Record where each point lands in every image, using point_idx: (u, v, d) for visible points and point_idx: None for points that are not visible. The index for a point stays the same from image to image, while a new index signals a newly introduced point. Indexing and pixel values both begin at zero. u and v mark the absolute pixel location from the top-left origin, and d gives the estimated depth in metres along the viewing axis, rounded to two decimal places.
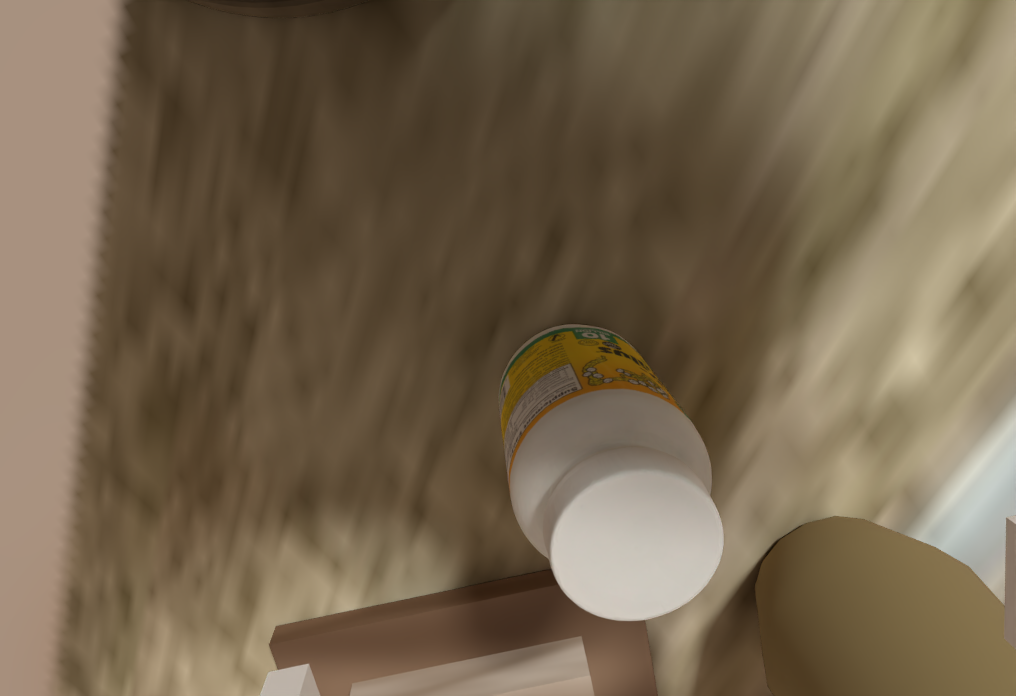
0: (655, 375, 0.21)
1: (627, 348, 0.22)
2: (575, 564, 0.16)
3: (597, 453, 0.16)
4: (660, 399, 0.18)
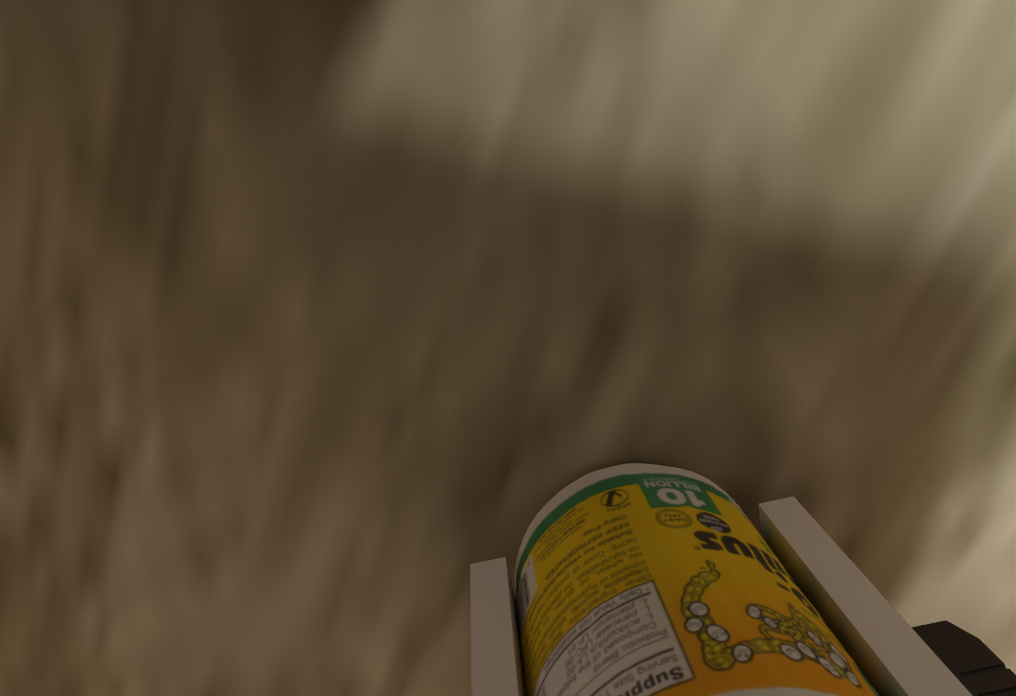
0: (789, 574, 0.12)
1: (735, 519, 0.13)
2: None
3: None
4: None
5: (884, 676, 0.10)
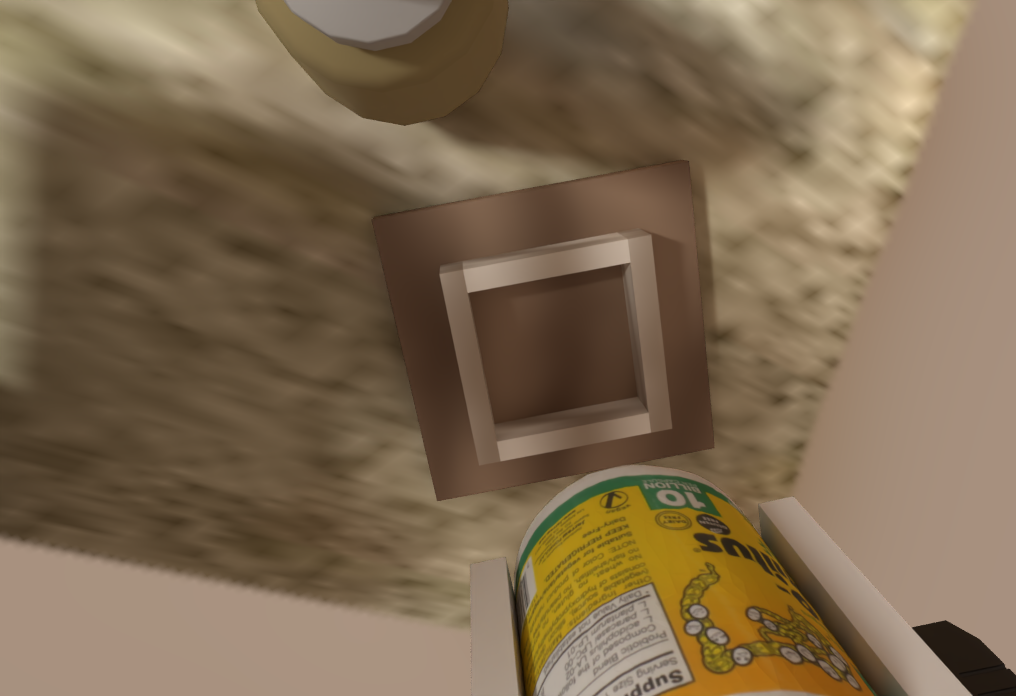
0: (789, 576, 0.12)
1: (735, 521, 0.13)
2: None
3: None
4: None
5: (884, 676, 0.10)
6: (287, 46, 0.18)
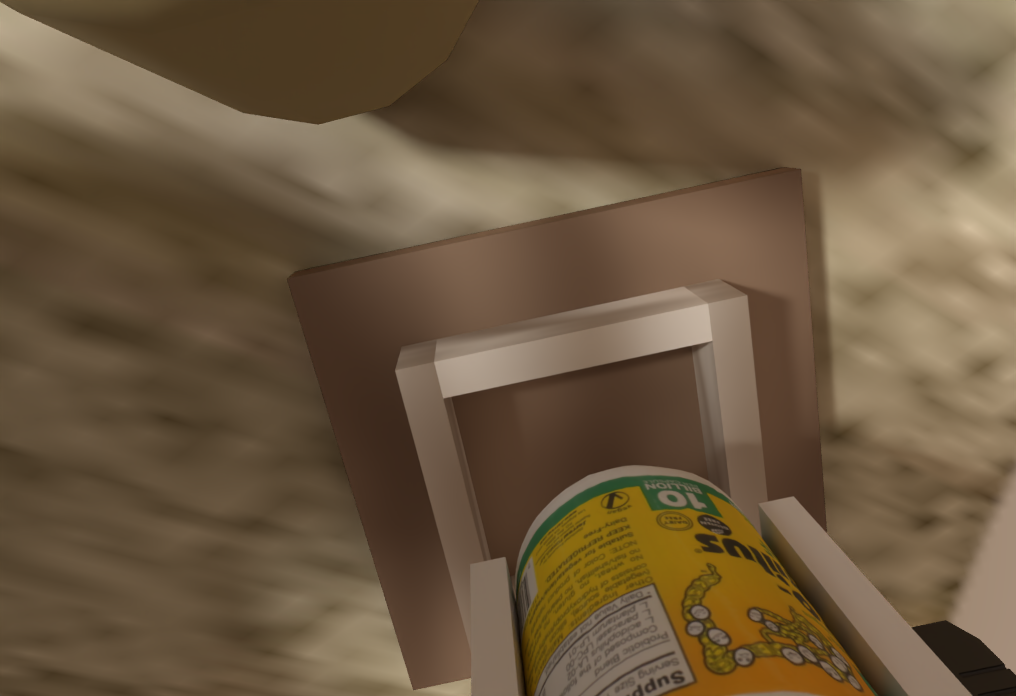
0: (790, 577, 0.12)
1: (736, 522, 0.13)
2: None
3: None
4: None
5: (884, 676, 0.10)
6: None
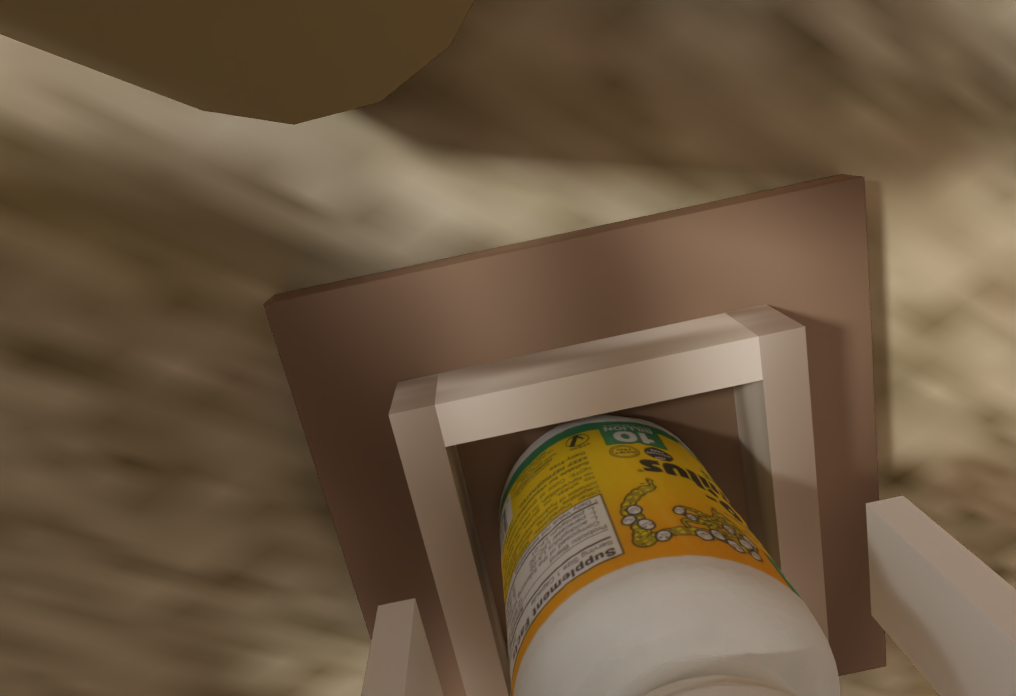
0: (725, 496, 0.15)
1: (680, 454, 0.15)
2: None
3: (659, 694, 0.09)
4: (752, 568, 0.11)
5: None
6: None
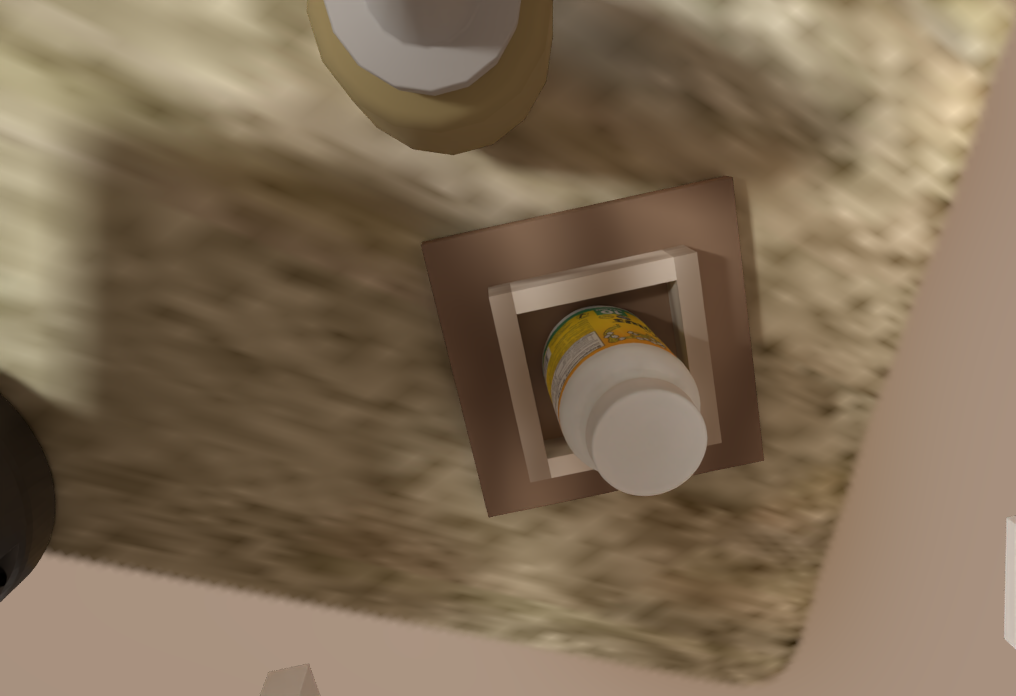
0: None
1: (635, 319, 0.30)
2: (609, 457, 0.24)
3: (618, 384, 0.24)
4: (659, 348, 0.26)
5: None
6: (349, 93, 0.19)
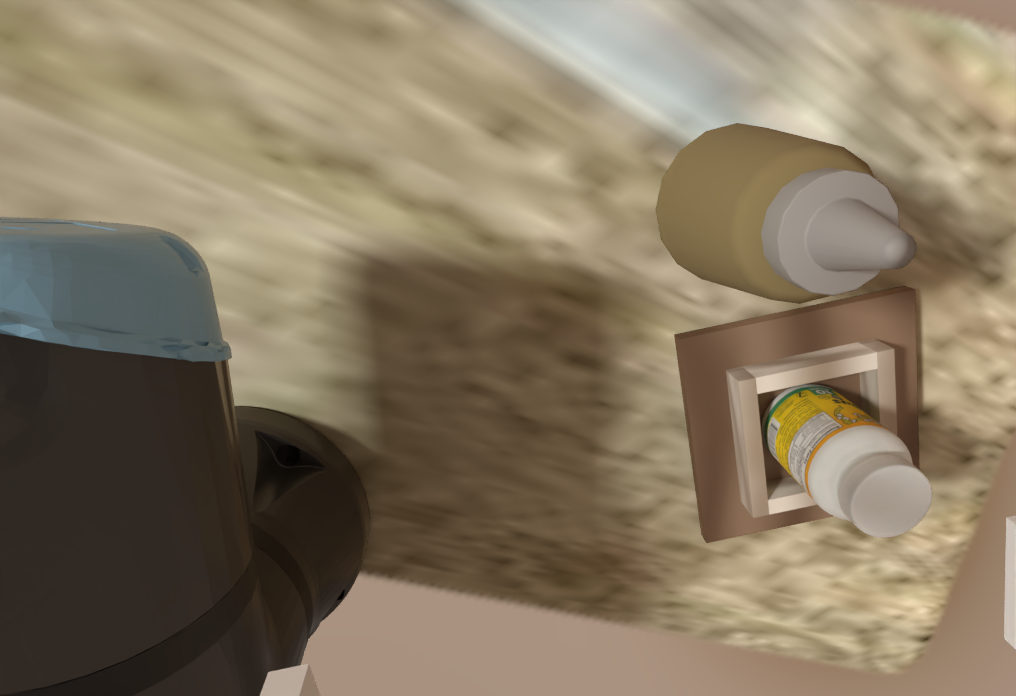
0: None
1: (843, 397, 0.40)
2: (862, 511, 0.34)
3: (865, 458, 0.34)
4: (884, 428, 0.36)
5: None
6: (746, 279, 0.29)
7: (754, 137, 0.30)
